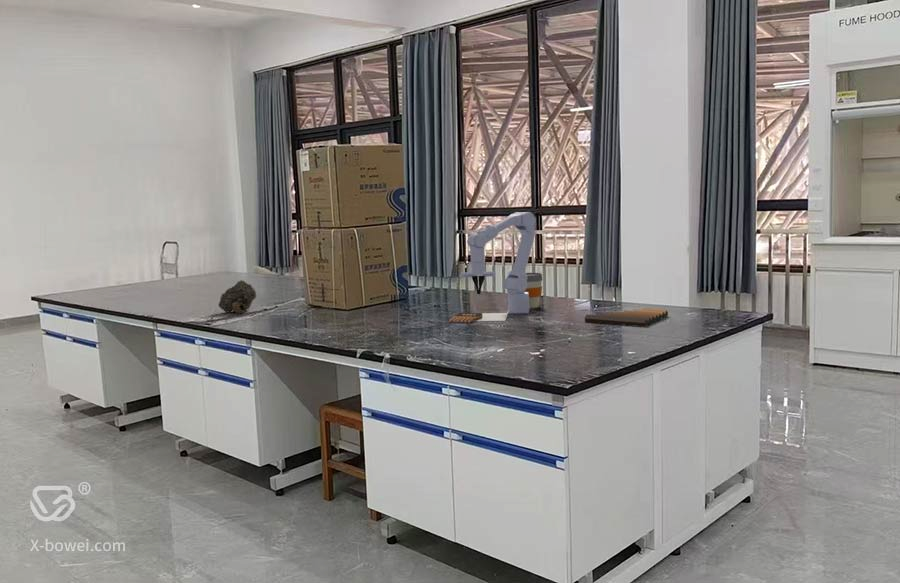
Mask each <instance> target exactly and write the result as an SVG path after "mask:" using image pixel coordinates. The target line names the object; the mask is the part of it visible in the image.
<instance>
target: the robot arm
mask: <svg viewBox="0 0 900 583" xmlns="http://www.w3.org/2000/svg"><path fill="white" fill-rule="evenodd" d="M536 221H537V219H536V218H535V215H534V214H533V213H532V212H530V211H526V212H520V211H519V212H518V211H515V212H514V213H511V214H509V215H508V216H507V217H505V218H504V219H502V220H501V221H499V222H498V223H496V224H495V225H493V224H487V225H485V227H484V228H482V229H481V230H477V231H476V233H471V234H470V235H469V237H468V238H467V241H466V242H467V245H468V246H469V250H470V252H469V253H470V272H460V278H462V279H463V278H471V279H472V282H473V284H474V286H475V289H476V295H481V292H482V288H483V283H484V281H485V279H486V277H496V271H485V270H486V269H485V247H486V245H487V243H489V242H490V241H492V240H494V239H495V238H497V237H498V235H499V233H500V232H502V231H503V230H506V229H508V228H510V227H512V226H514V227H515V228H516V229H517V230H518V231H519V233H520V234H521V237H520V241H519V245H518V248H517V253H516V256H515V261H514V264H513V268H512V269H511V270H510V271H509V272H508V274H507V276H506V278H505V279H504V283H503V286H504V288H505V289H506V292H507V311H506V313H508V315H510V314H529V313H530V309H531V308H530V305H529V293H528V292H525V290H526V288H527V278H528V277H527V275H526V273H527V272H526V270H527V265H528V262H529V258H530V255H531V251H532V246H533V244H534V241H535V240H534V239H535V236H536V225H535V224H536Z"/></svg>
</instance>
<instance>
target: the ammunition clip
mask: <svg viewBox="0 0 900 583" xmlns="http://www.w3.org/2000/svg"><path fill="white" fill-rule="evenodd" d="M482 313H483V312H481V313H480V312H459V313H457V314H456V315H454V316H453V317H452V318H450V319H449V320H448V322H449V323H472V322H475V320H479V319H481V318H482Z"/></svg>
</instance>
